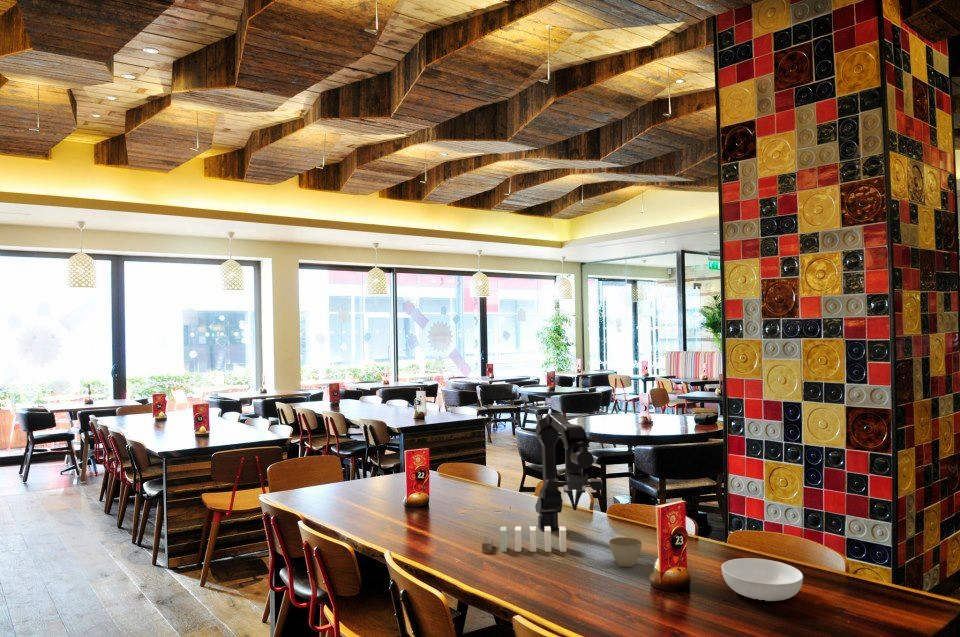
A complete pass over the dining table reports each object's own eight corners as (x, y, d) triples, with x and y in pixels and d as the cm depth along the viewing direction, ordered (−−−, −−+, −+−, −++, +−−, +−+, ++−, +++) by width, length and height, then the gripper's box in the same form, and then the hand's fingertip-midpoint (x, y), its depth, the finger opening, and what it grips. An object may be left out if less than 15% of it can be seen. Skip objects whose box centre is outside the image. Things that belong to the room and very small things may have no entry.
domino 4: (565, 547, 240) (565, 526, 240) (566, 551, 235) (566, 530, 235) (559, 547, 240) (559, 526, 240) (560, 551, 235) (559, 530, 235)
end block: (492, 545, 243) (492, 536, 243) (491, 552, 235) (491, 543, 235) (483, 545, 243) (483, 536, 243) (482, 552, 235) (482, 543, 235)
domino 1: (521, 546, 241) (521, 526, 241) (521, 551, 236) (520, 530, 236) (515, 546, 241) (515, 526, 241) (515, 551, 236) (514, 530, 236)
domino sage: (506, 547, 241) (506, 526, 241) (506, 551, 236) (505, 530, 236) (500, 547, 241) (500, 526, 241) (500, 551, 236) (500, 530, 236)
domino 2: (536, 547, 241) (535, 526, 241) (536, 551, 236) (535, 530, 236) (530, 546, 241) (529, 526, 241) (530, 551, 236) (529, 530, 236)
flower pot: (643, 560, 224) (643, 538, 225) (640, 571, 215) (639, 547, 215) (612, 558, 228) (611, 535, 228) (607, 567, 218) (607, 544, 218)
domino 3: (550, 547, 240) (550, 526, 240) (551, 551, 235) (550, 530, 235) (544, 547, 240) (544, 526, 241) (545, 551, 235) (544, 530, 236)
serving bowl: (762, 615, 180) (761, 588, 180) (705, 588, 199) (705, 564, 200) (821, 601, 189) (820, 575, 189) (761, 577, 208) (761, 554, 208)
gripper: (546, 468, 231) (547, 516, 230) (603, 468, 229) (604, 516, 229) (545, 461, 242) (546, 507, 241) (601, 461, 240) (602, 508, 240)
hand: (574, 510), depth 237 cm, fingers closed
